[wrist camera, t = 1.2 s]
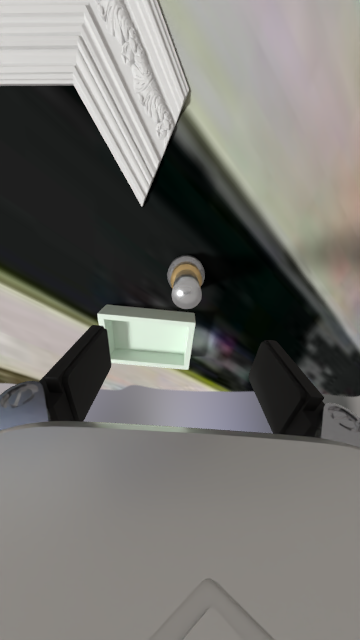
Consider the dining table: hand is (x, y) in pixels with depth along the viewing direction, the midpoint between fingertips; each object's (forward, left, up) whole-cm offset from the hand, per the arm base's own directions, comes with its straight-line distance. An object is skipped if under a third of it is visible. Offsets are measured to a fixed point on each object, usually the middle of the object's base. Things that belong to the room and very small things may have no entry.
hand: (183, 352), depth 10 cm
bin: (+6, +13, -22) cm, 26 cm away
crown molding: (+14, -23, -22) cm, 35 cm away
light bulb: (0, 0, -19) cm, 19 cm away
